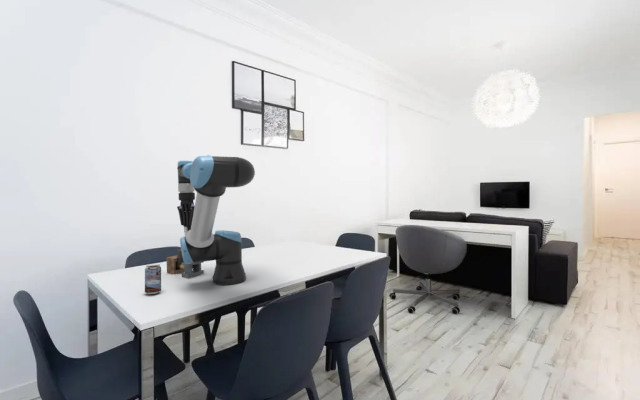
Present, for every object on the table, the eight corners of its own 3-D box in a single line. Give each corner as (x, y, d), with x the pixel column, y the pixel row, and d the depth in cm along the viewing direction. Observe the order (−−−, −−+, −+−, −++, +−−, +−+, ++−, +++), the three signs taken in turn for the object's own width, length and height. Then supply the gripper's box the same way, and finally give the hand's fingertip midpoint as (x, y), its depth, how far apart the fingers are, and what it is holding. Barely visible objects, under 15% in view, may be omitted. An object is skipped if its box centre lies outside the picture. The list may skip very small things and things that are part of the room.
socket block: (185, 271, 172) (184, 256, 172) (174, 274, 166) (173, 258, 166) (178, 270, 175) (177, 255, 175) (166, 273, 170) (166, 257, 169)
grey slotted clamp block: (203, 274, 166) (203, 260, 166) (188, 278, 159) (187, 264, 158) (197, 273, 169) (196, 259, 169) (181, 277, 161) (181, 263, 161)
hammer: (193, 269, 166) (193, 250, 165) (187, 271, 163) (187, 252, 162) (179, 267, 172) (178, 248, 172) (173, 268, 169) (172, 249, 169)
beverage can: (144, 297, 132) (143, 267, 132) (145, 291, 139) (144, 263, 139) (161, 294, 135) (160, 265, 134) (162, 289, 142) (161, 261, 141)
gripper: (201, 191, 163) (203, 239, 164) (185, 192, 170) (186, 238, 171) (188, 192, 157) (190, 241, 157) (171, 192, 164) (173, 240, 164)
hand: (188, 239), depth 164 cm, fingers closed
